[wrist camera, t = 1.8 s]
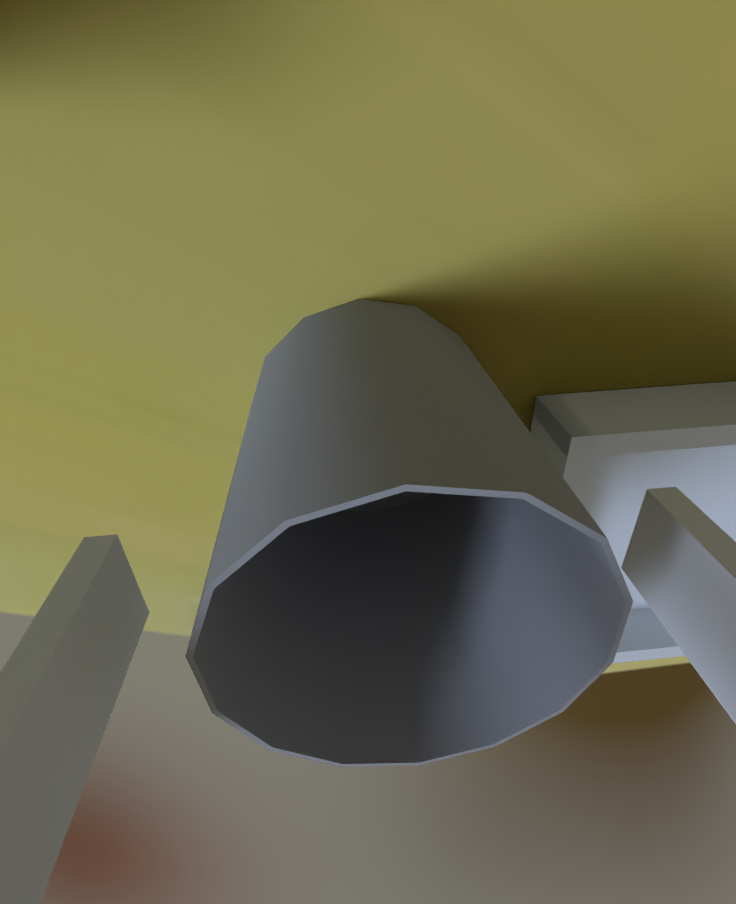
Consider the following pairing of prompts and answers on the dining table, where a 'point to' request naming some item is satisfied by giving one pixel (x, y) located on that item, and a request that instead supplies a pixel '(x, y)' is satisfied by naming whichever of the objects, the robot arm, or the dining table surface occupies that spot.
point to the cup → (397, 555)
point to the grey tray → (643, 469)
